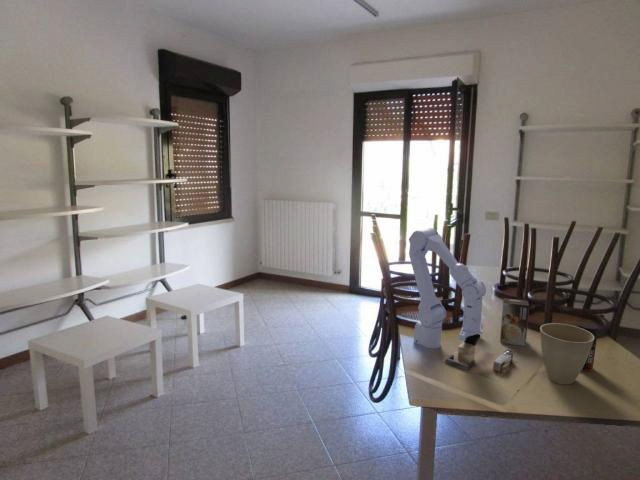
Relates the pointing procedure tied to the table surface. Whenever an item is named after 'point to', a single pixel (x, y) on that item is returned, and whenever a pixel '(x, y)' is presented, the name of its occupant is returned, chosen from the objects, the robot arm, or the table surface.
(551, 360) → the plant pot
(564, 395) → the table surface
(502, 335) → the coffee box
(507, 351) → the hinged leg
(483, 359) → the plate
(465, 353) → the leg stub
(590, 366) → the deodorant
